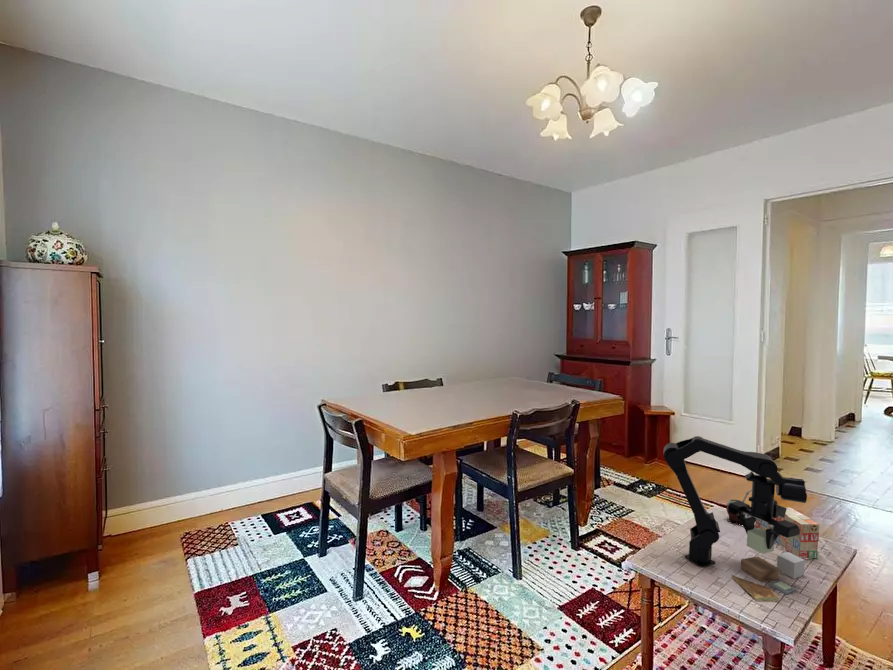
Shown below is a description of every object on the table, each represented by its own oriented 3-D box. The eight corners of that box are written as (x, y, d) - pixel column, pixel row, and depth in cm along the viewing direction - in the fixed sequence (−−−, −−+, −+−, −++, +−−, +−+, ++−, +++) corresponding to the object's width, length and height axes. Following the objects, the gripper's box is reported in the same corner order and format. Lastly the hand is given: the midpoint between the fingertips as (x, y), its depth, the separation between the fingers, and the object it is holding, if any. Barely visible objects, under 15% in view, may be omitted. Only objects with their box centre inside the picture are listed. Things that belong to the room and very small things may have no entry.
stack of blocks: (754, 528, 169) (755, 496, 168) (770, 528, 169) (772, 496, 168) (799, 559, 148) (801, 523, 147) (817, 559, 148) (819, 523, 147)
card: (786, 595, 129) (786, 592, 129) (768, 585, 133) (768, 582, 133) (797, 591, 131) (797, 588, 130) (779, 581, 135) (779, 578, 135)
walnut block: (760, 583, 135) (761, 571, 135) (740, 569, 142) (740, 559, 142) (778, 579, 137) (779, 568, 137) (757, 566, 144) (758, 556, 143)
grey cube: (793, 578, 137) (794, 563, 137) (776, 570, 142) (777, 554, 141) (804, 575, 139) (804, 559, 138) (786, 566, 143) (787, 551, 143)
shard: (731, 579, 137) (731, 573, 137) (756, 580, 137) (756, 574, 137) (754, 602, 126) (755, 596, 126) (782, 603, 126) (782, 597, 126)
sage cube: (773, 550, 137) (774, 535, 137) (762, 554, 136) (763, 538, 135) (757, 542, 142) (758, 527, 142) (746, 545, 140) (747, 530, 140)
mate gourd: (721, 518, 177) (723, 481, 176) (740, 517, 177) (741, 480, 177) (735, 527, 169) (737, 488, 168) (754, 526, 170) (756, 488, 169)
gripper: (813, 504, 132) (810, 555, 133) (750, 481, 149) (748, 526, 150) (788, 510, 128) (785, 562, 129) (727, 486, 145) (725, 532, 146)
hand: (760, 544), depth 139 cm, fingers closed on sage cube, 5 cm apart
